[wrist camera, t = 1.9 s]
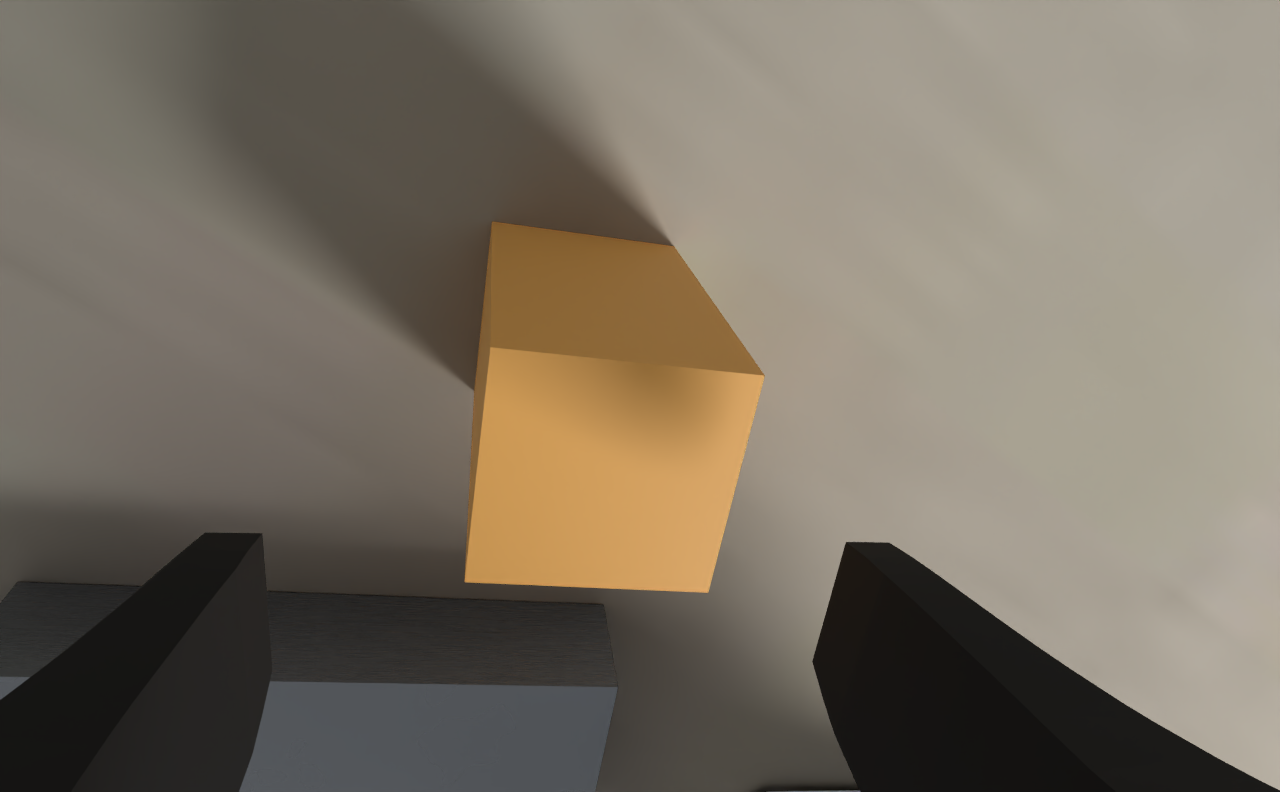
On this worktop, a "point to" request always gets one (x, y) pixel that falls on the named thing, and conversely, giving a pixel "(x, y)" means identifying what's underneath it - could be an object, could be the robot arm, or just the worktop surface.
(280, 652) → the grey square-hole board
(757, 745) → the worktop surface
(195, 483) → the worktop surface
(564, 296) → the block
